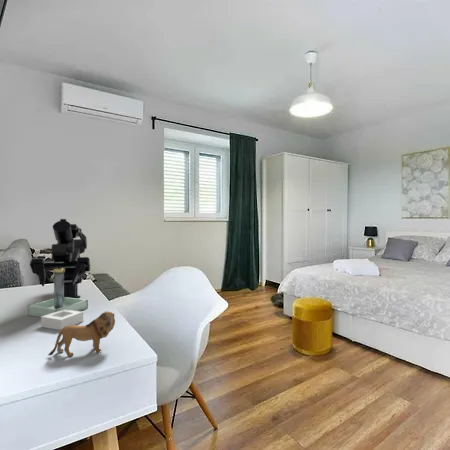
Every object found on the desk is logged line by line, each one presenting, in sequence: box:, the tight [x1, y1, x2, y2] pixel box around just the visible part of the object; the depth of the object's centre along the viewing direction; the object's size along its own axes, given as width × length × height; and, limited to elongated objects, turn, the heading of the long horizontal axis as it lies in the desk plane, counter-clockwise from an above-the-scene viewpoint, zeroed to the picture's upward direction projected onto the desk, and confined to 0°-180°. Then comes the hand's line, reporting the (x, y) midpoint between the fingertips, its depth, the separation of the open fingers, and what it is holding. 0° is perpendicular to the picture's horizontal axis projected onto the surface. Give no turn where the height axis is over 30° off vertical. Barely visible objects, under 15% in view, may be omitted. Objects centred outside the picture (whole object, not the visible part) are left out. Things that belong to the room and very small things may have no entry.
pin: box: [52, 267, 65, 309], centre depth 103 cm, size 4×4×14 cm
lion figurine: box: [47, 311, 116, 358], centre depth 71 cm, size 15×5×9 cm, turn 118°
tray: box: [27, 297, 89, 318], centre depth 103 cm, size 13×13×3 cm
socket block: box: [40, 309, 84, 331], centre depth 90 cm, size 8×8×3 cm
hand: (57, 284), depth 101 cm, fingers open, 9 cm apart
